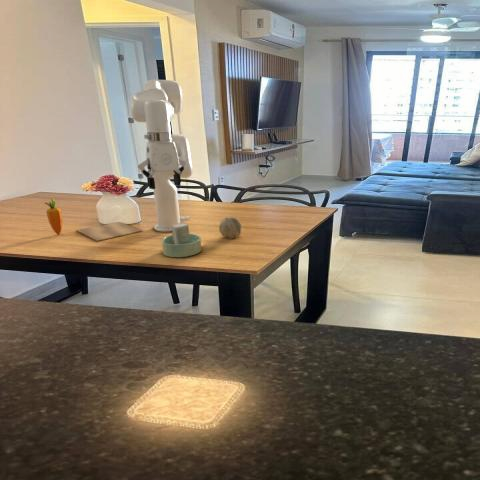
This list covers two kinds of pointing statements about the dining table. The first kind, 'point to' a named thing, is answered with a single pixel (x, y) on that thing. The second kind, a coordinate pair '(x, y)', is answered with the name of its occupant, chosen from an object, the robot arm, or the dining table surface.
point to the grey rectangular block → (180, 234)
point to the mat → (108, 231)
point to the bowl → (181, 246)
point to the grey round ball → (230, 227)
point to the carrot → (54, 217)
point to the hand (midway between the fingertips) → (165, 187)
